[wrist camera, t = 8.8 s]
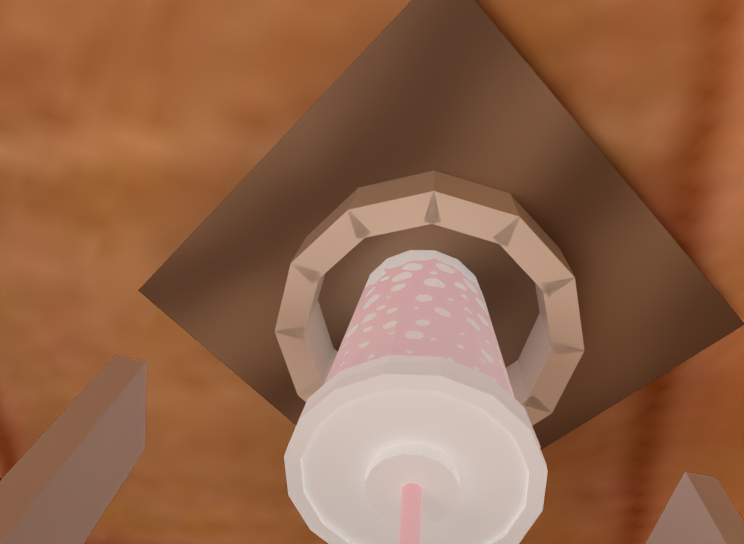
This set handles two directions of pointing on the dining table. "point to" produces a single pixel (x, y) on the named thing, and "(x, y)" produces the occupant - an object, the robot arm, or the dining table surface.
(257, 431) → the dining table surface
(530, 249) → the ring
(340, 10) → the dining table surface
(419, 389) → the beverage cup
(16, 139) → the dining table surface
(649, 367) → the holder
